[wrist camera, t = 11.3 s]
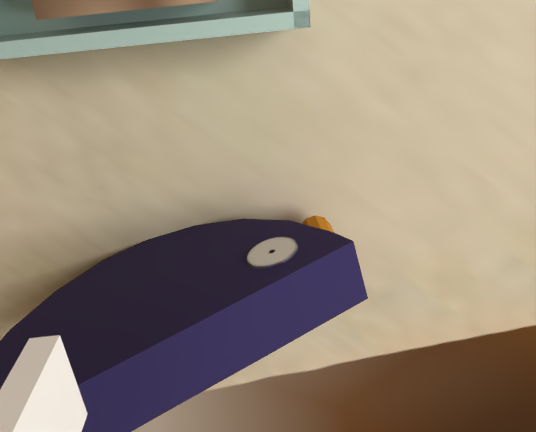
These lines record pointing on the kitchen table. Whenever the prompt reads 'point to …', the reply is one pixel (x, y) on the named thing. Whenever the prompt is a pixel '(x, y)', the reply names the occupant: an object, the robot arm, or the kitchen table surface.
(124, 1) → the walnut block
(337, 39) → the kitchen table surface
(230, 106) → the kitchen table surface
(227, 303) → the toy
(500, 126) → the kitchen table surface
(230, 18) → the tote
